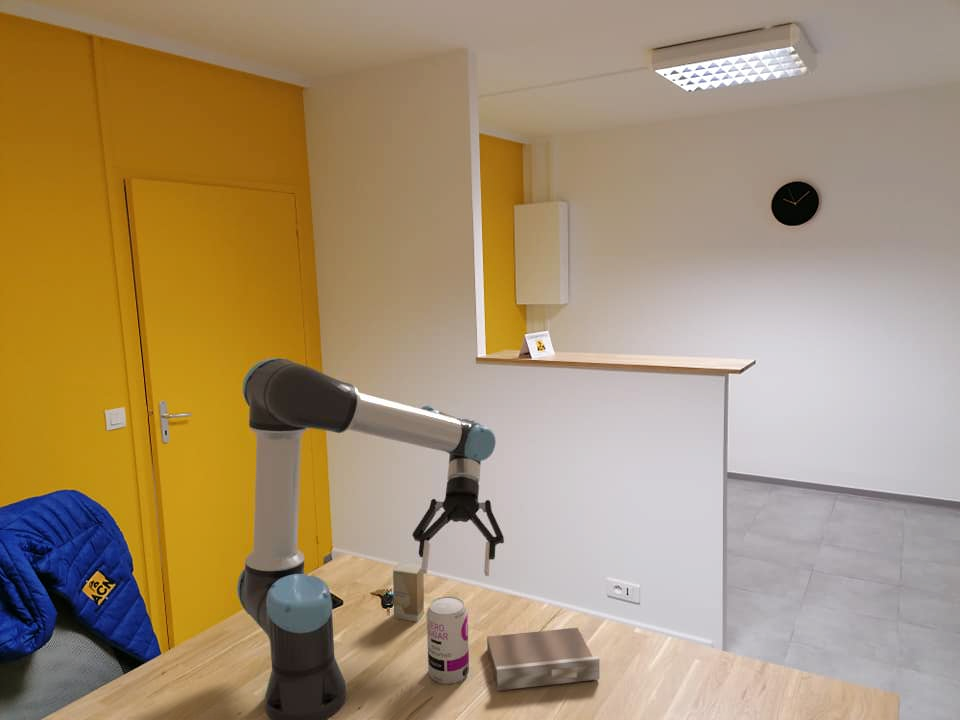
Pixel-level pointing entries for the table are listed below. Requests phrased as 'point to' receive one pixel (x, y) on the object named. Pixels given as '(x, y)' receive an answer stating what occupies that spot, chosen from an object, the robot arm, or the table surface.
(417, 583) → the skincare box
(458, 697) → the table surface
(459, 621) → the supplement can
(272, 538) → the robot arm
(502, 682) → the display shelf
